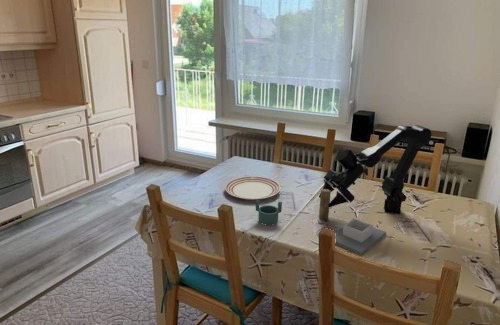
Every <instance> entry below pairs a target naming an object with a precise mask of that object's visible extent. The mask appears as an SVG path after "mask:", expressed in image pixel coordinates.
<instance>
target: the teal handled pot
mask: <svg viewBox="0 0 500 325" xmlns="http://www.w3.org/2000/svg"><path fill="white" fill-rule="evenodd" d="M277 202H278V203H277V206H274V205H270V204H268V205H262V206H260V199H258V200H255V211H256V212H257V213H258V218H257V219H258V220H259V221H258V223H259V222H260V224H261V223H263V224H266V225H265V226H273V225H272V224H275V225H276V223H277V222H279V214H280V213H282V209H283V206H282V204H283V202H282V201H277ZM263 224H262V225H263ZM277 224H278V223H277Z"/></svg>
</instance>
